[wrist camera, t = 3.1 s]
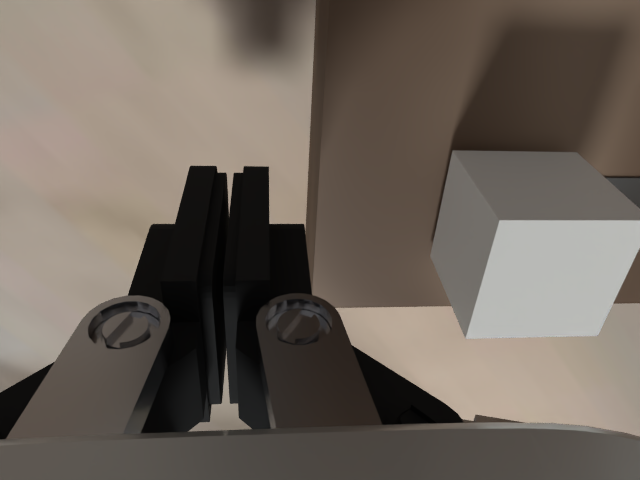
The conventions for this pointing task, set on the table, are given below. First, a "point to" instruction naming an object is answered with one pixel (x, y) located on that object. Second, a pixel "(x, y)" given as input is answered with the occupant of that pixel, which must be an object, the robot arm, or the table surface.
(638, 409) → the table surface
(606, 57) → the switch board
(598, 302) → the switch
